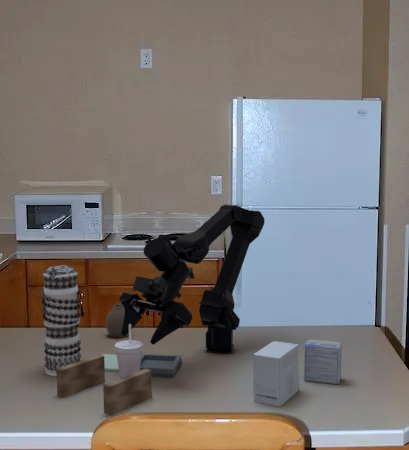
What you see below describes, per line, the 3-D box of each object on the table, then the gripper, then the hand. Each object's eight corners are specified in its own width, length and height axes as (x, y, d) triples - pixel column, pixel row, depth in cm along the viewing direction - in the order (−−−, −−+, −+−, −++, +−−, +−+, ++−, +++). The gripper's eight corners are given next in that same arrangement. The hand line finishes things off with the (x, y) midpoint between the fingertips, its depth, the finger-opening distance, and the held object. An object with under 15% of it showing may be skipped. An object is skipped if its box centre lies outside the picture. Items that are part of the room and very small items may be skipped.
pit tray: (181, 363, 159) (181, 355, 159) (173, 377, 149) (173, 369, 149) (142, 361, 161) (141, 353, 161) (131, 375, 151) (131, 367, 151)
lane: (99, 379, 148) (98, 354, 148) (152, 397, 138) (151, 370, 137) (57, 395, 139) (56, 368, 138) (110, 415, 129) (109, 386, 128)
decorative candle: (57, 361, 161) (53, 262, 157) (90, 366, 157) (87, 264, 154) (35, 374, 152) (31, 269, 149) (70, 378, 149) (66, 272, 146)
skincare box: (272, 385, 145) (273, 339, 144) (299, 390, 142) (300, 344, 140) (251, 401, 136) (252, 352, 135) (280, 407, 133) (280, 358, 131)
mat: (140, 358, 163) (140, 355, 163) (129, 372, 153) (129, 369, 153) (102, 356, 165) (101, 354, 164) (88, 369, 155) (88, 367, 155)
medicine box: (341, 378, 149) (342, 342, 148) (338, 385, 145) (339, 347, 144) (307, 374, 151) (307, 338, 150) (303, 381, 147) (304, 344, 146)
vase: (133, 332, 185) (132, 302, 184) (128, 339, 179) (127, 308, 177) (109, 331, 186) (108, 301, 185) (103, 338, 179) (102, 307, 178)
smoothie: (149, 383, 146) (148, 323, 144) (134, 393, 140) (133, 330, 138) (125, 379, 149) (123, 319, 147) (109, 388, 143) (108, 327, 141)
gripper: (124, 258, 153) (89, 312, 146) (183, 267, 141) (148, 327, 134) (147, 285, 160) (115, 338, 153) (206, 296, 148) (174, 355, 141)
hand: (136, 339), depth 145 cm, fingers open, 9 cm apart
